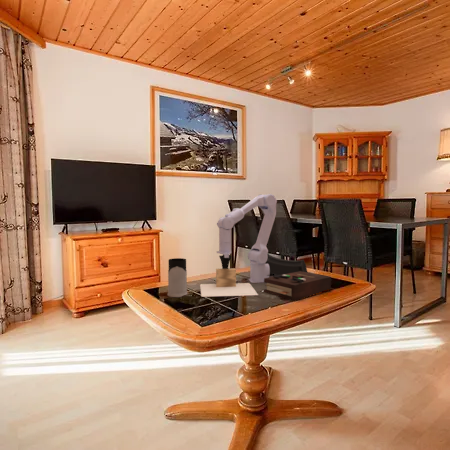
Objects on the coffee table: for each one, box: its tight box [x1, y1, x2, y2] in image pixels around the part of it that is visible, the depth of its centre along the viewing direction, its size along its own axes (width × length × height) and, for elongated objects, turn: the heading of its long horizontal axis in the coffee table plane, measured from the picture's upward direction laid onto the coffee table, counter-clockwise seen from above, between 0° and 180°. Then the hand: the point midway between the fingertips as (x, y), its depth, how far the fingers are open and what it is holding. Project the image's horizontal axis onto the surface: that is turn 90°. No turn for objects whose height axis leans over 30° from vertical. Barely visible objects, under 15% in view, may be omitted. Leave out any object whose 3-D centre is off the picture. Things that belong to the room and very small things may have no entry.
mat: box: [199, 282, 259, 298], centre depth 149 cm, size 24×22×1 cm
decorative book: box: [263, 271, 332, 302], centre depth 146 cm, size 19×8×30 cm
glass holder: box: [167, 257, 188, 298], centre depth 144 cm, size 9×14×15 cm, turn 5°
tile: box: [215, 267, 237, 287], centre depth 155 cm, size 9×3×8 cm, turn 96°
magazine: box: [265, 253, 309, 275], centre depth 178 cm, size 17×3×30 cm
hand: (225, 270), depth 158 cm, fingers closed
